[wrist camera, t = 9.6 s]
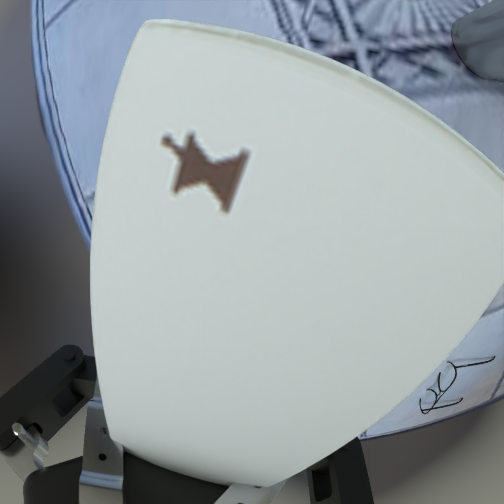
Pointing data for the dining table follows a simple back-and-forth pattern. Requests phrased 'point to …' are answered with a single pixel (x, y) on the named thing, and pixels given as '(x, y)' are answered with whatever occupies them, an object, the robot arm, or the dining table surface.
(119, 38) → the dining table surface
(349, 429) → the skincare box
